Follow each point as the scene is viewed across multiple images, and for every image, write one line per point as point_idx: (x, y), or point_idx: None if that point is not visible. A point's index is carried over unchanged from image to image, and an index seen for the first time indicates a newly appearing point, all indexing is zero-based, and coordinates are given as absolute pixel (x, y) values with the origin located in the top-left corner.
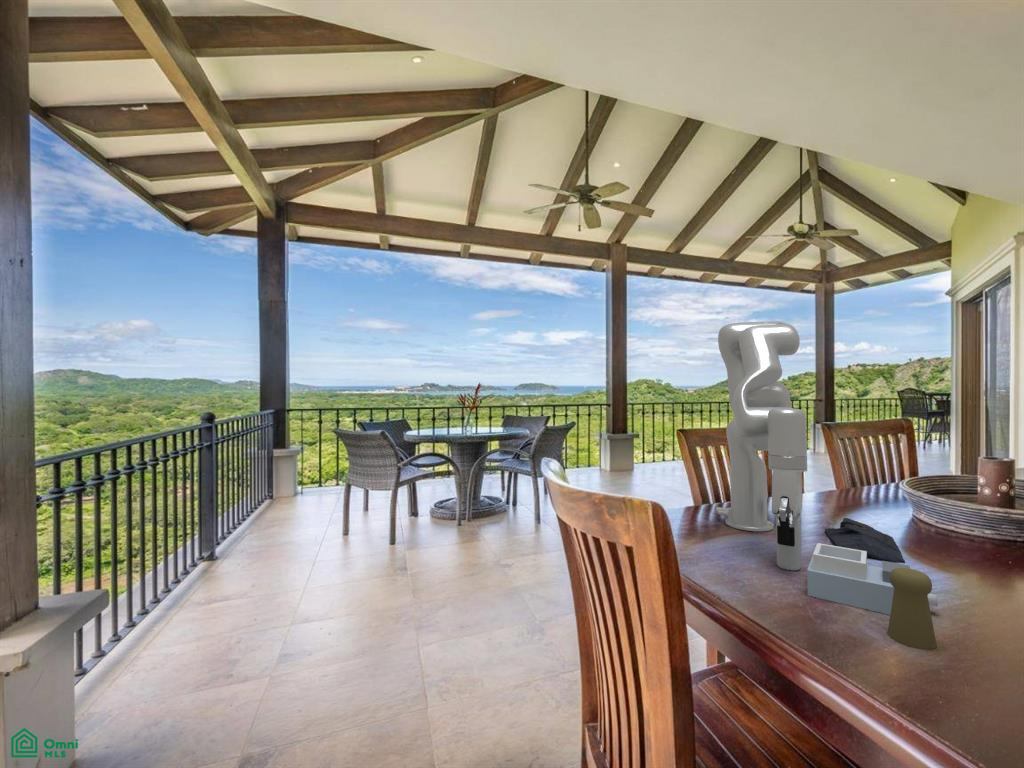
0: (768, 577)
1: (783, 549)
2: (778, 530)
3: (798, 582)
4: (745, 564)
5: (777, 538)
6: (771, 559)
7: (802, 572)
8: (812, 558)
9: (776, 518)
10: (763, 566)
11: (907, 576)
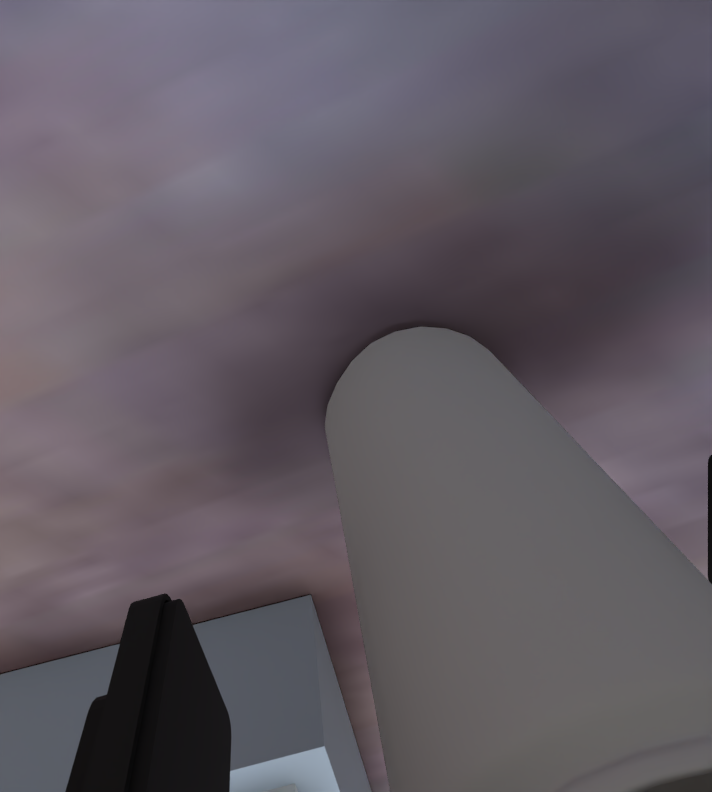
0: (42, 399)
1: (342, 501)
2: (94, 774)
3: (154, 565)
4: (170, 106)
5: (118, 649)
6: (515, 226)
7: None
8: None
9: (501, 707)
10: (267, 257)
11: None
